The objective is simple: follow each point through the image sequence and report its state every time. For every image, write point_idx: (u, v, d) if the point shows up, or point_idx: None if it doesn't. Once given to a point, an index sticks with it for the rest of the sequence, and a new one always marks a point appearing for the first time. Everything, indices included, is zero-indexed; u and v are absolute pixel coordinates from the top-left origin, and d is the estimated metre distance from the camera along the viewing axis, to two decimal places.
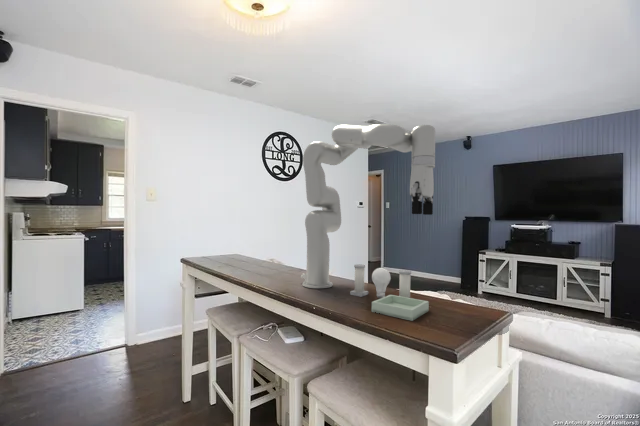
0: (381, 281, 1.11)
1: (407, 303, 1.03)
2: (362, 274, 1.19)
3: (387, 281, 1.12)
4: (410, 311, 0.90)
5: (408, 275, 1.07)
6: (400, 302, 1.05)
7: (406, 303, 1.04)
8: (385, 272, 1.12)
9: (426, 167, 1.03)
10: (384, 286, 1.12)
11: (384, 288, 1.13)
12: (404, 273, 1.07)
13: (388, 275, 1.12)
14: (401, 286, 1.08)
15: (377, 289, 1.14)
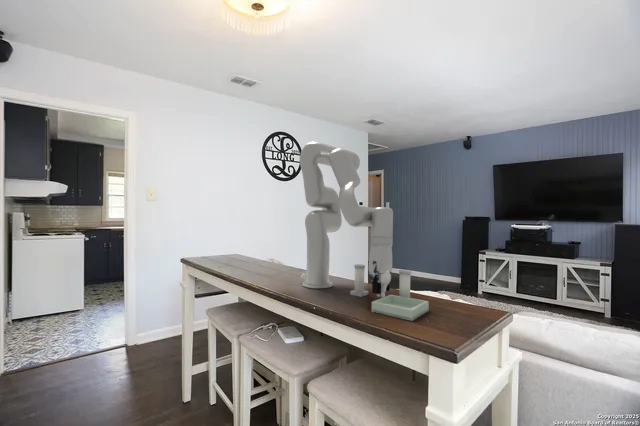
0: (381, 281, 1.12)
1: (407, 303, 1.03)
2: (362, 274, 1.19)
3: (387, 281, 1.12)
4: (410, 311, 0.90)
5: (408, 275, 1.07)
6: (400, 302, 1.05)
7: (406, 303, 1.04)
8: (386, 272, 1.12)
9: (383, 248, 1.11)
10: (384, 286, 1.13)
11: (384, 288, 1.13)
12: (404, 273, 1.07)
13: (388, 275, 1.12)
14: (401, 286, 1.08)
15: None
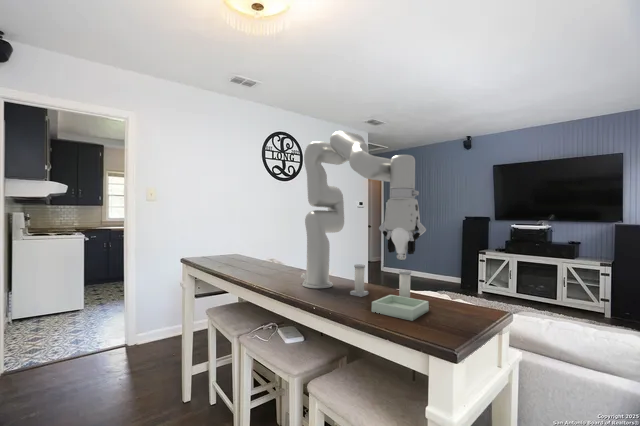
0: (391, 238, 1.00)
1: (407, 303, 1.03)
2: (362, 274, 1.19)
3: (395, 239, 0.98)
4: (410, 311, 0.90)
5: (408, 275, 1.07)
6: (400, 302, 1.05)
7: (406, 303, 1.04)
8: (395, 229, 0.98)
9: (390, 201, 1.00)
10: (395, 245, 0.99)
11: (397, 247, 0.98)
12: (404, 273, 1.07)
13: (395, 232, 0.97)
14: (401, 286, 1.08)
15: None
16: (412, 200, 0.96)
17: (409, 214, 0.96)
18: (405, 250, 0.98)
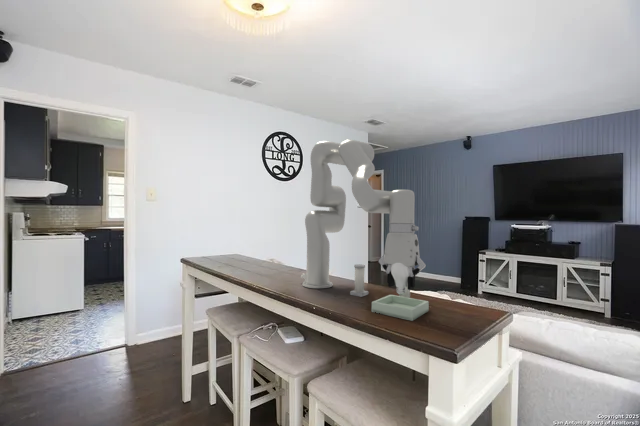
0: (391, 273, 1.00)
1: (407, 303, 1.03)
2: (362, 274, 1.19)
3: (394, 274, 0.97)
4: (410, 311, 0.90)
5: None
6: (400, 302, 1.05)
7: (406, 303, 1.04)
8: (395, 264, 0.98)
9: (389, 235, 0.99)
10: (395, 280, 0.98)
11: (397, 282, 0.98)
12: None
13: (395, 267, 0.97)
14: None
15: None
16: (412, 236, 0.96)
17: (409, 250, 0.95)
18: (405, 285, 0.98)
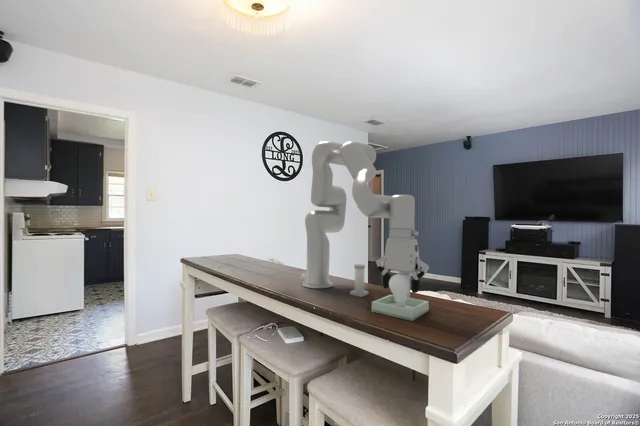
0: None
1: (407, 303, 1.03)
2: (362, 274, 1.19)
3: (392, 289, 0.97)
4: (410, 311, 0.90)
5: (408, 275, 1.07)
6: None
7: (406, 303, 1.04)
8: (392, 278, 0.97)
9: (389, 240, 0.99)
10: (393, 294, 0.97)
11: (395, 297, 0.97)
12: (404, 273, 1.07)
13: (392, 282, 0.96)
14: None
15: None
16: (412, 241, 0.96)
17: (409, 255, 0.95)
18: (403, 299, 0.96)
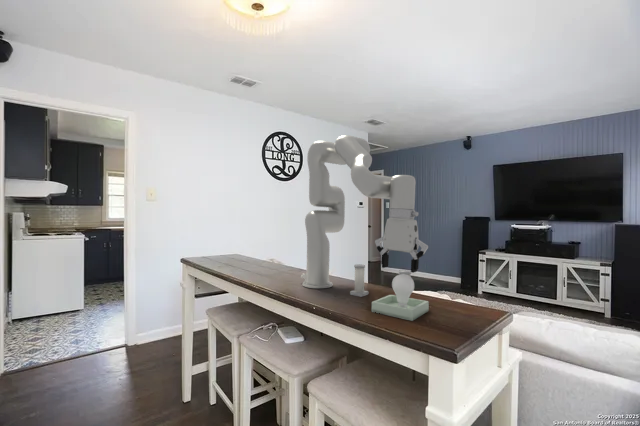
0: None
1: (407, 303, 1.03)
2: (362, 274, 1.19)
3: (394, 289, 0.96)
4: (410, 311, 0.90)
5: (408, 275, 1.07)
6: None
7: None
8: (395, 278, 0.97)
9: (389, 220, 1.00)
10: (396, 294, 0.97)
11: (397, 297, 0.97)
12: (404, 273, 1.07)
13: (395, 282, 0.96)
14: None
15: None
16: (411, 221, 0.96)
17: (408, 235, 0.96)
18: (405, 300, 0.96)
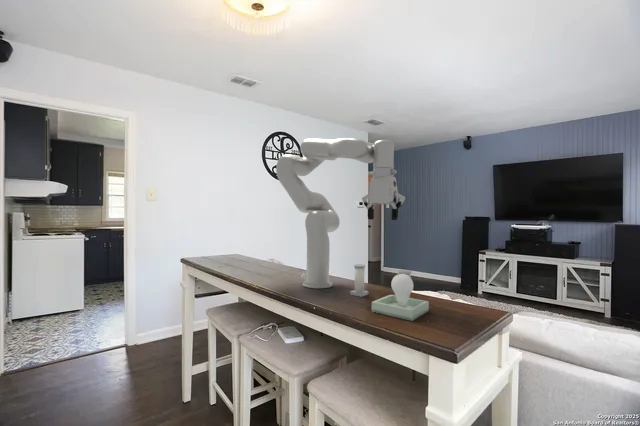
0: None
1: (407, 303, 1.03)
2: (362, 274, 1.19)
3: (394, 288, 0.97)
4: (410, 311, 0.90)
5: (408, 275, 1.07)
6: None
7: None
8: (394, 278, 0.97)
9: (373, 179, 1.19)
10: (395, 294, 0.97)
11: (397, 297, 0.97)
12: (404, 273, 1.07)
13: (394, 282, 0.96)
14: None
15: None
16: (391, 177, 1.16)
17: (388, 189, 1.15)
18: (405, 300, 0.96)
